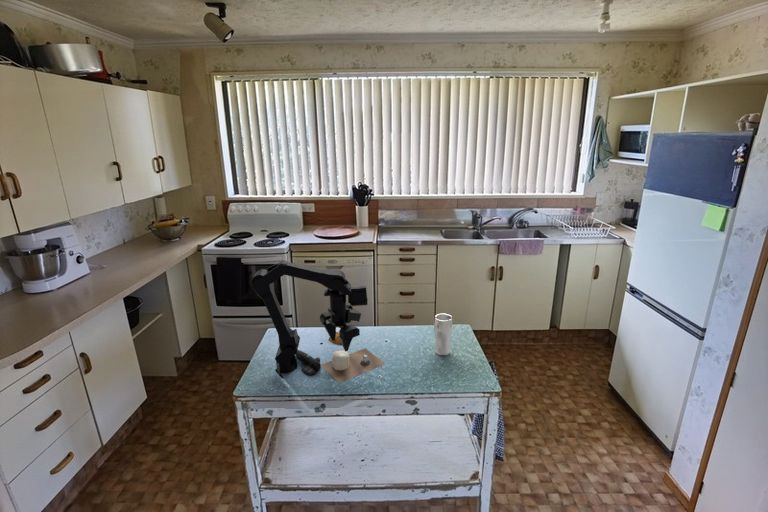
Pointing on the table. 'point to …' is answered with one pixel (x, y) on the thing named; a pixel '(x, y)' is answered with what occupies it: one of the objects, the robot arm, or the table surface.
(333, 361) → the cap
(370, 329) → the table surface
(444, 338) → the white cylindrical vase
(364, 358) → the door knob
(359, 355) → the board
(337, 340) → the pastry
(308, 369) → the can opener
